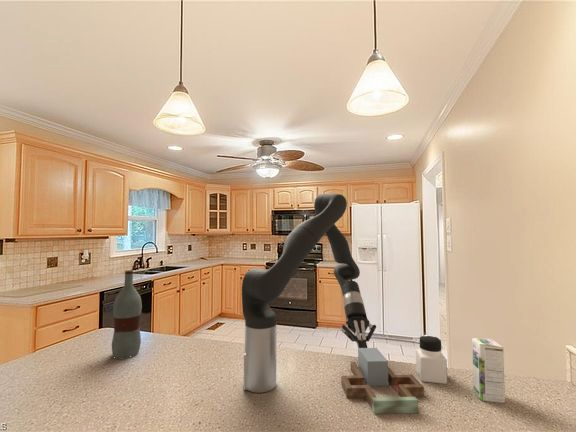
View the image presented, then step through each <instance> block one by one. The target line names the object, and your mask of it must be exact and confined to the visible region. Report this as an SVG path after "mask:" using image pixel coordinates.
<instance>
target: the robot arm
mask: <svg viewBox="0 0 576 432" xmlns="http://www.w3.org/2000/svg"><path fill="white" fill-rule="evenodd" d="M313 203H314V204H313V207H314V212H315V214H316V215H314V216H312V217H310V218H308V219H306V220H304V221H303V222H301V223H299V224H298V225H296V226H295V228H293V230H292V231H291V232H290V233H289V234H288V235H287V236H286V237H285V240H284V243H283V247H282V248H283V249H282V253H281V256H280V257H279V259H278V260H277V261H276V262H275V263H274V264H273V265H272V266H271V267H270V268H268V269H266V268H257V267H256V268H255V267H254V268H250V269H248V271H247V272H246V273H245V274H244V276H243V278H242V283H241V309H242V310H241V311H242V315H243V317H244V354H243V390H244V391H248V392H252V393H259V394H260V393H267V392H270V391H272V390H274V389H275V388H276V387H277V341H278V340H277V336H278V335H277V331H278V330H277V329H278V328H277V327H278V325H277V323H278V322H277V318H278V317H277V314H276V313H275V311H274V310H273V309H272V308H271V307H270V304H268V303H273V302H274V301H276V300H277V299H278V298H279V297H280V296H281V294H282V293H283V291H284V290H285V288H286V287H287V285H288V283H289V282H290V280H291V278H292V277H293V276H294V274H295V273H296V271H297V270H298V268H299V267H300V266H301V264H303V261H304V260H305V259H306V258H307V257H308V256H309V255H310V253H311V252H312V251H313V250H314V248H315V247H316V245H317V244H318V243H319V242H320V240H321V239H322V238H323V237H324V236H325V235H326V237H327V240H328V243H329V245H330V249H331V252H332V255H333V259H334V261H335V263H337V264H338V265H335V267H334V268H333V275H334V277H335V279H336V280H337V281H336V282H337V283H338V284H339V286H340V289H341V294H342V303H343V304H342V305H343V308H344V313H345V320H346V322H345V324H342V325H341V328H340V330H341V333H343V334H344V335H345V336H346V337H347V338H348V339H349V340H350V341H351V342H354V343H356V345H357V349H358V348H368V343H367V342H370V340H371V338H372V336H373V335H374V333H375V331H376V328H377V325H376V324H371V323H370V320H369V319H368V317H367V312H366V309H365V304H364V299H363V297H362V295H361V290H360V286H359V283H358V282H357V281H355V280H356V279H358V278H359V277H360V273H361V271H360V267H359V266H358V264H357V263H356V261H355V260H354V258H353V256H352V254H351V250H350V244H349V243H348V242H349V241H348V240H347V238H346V237H345V235H344V234H343V232H341V231H340V230H339V228H338V227H337V226H336V223H337V222H338V221H339V220H340V219H341V218H342V217H343V215H344V214H345V212H346V210H347V208H348V207H347V205H348V204H347V203H348V202H347V198H346V197H345V196H344V195H342V194H340V193H320V194H318V195H316V197H315V199H314V202H313ZM367 330H368V331H369V332H368V334H367V335H366V332H367Z"/></svg>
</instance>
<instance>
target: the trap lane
mask: <svg viewBox="0 0 576 432" xmlns="http://www.w3.org/2000/svg"><path fill="white" fill-rule="evenodd" d="M350 371H351V374H353V375H340V377H341V379H340V385H341V387H342V389H343V392H344V394H345V396H346V398H347V399H359V398H360V399H361V398H365V399H366V401H367V402H368V405H369V407H370V409H371V410H372V413H373V414H374V415H375V414H418V413H419V400H418V398H417V397H419V398H420V397H421V398H422V397H425V387H424V385H423V384H421V382H420V381H419V380H418V379H417V378H416V377H415V376H414V375H413V374H396V373H394V372H393V370H392V369H391V368H390V367H389V366H388V383H390V385H391V387H392V388H393V389H394V390H395V392H396V393H397V394H398V396H390V397H389V396H385V397H383V396H381V397H377V395H376V394H375V391H373V389H372V388H371V387H372V386H369V385H367V384H366V382H365V377H364V376H363V374H362V372H361V371H360V369H359V367H358V363H356V361H350Z"/></svg>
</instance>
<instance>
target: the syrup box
mask: <svg viewBox="0 0 576 432" xmlns="http://www.w3.org/2000/svg"><path fill="white" fill-rule="evenodd" d="M471 341H472V342H471V343H472V388H473V389H472V391H474V392H475V395H477V397H478V398H479V400H480V401H482V402H492V403H501V404H502V403H503V404H505V403H506V395H505V394H506V390H505V389H506V388H505V355H504V350H505V349H504V347H503V346H502V345H500V344H499V343H498V342H497V341H495V340H494V339H491V338H483V337H472V340H471Z"/></svg>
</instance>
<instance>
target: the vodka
mask: <svg viewBox="0 0 576 432" xmlns="http://www.w3.org/2000/svg"><path fill="white" fill-rule="evenodd" d="M133 279H134V270H131V269H130V270H125V271H124V284H123V285H124V286H123V287H122V289H120V291H119V293H118V294H117V295H116V297H115V300H114V301H113V307H112V313H113V329H114V330H113V336H112V341H111V352H112V357H113V358H114V357H115V358H114V359H116V358H125V359H128V358H127V357H130V356H133V357H134V355H135V356H137V355H138V354H139V352H140V350H141V343H142V339H141V337H142V336H141V331H140V325H141V319H142V318H141V317H142V309H143V303H142V298H141V297H142V296H141V295H140V294H139V292H138V291H137V289H136V288H135V286H134V283H133V282H134V280H133ZM137 353H138V354H137ZM136 354H137V355H136ZM130 358H131V357H130Z"/></svg>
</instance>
